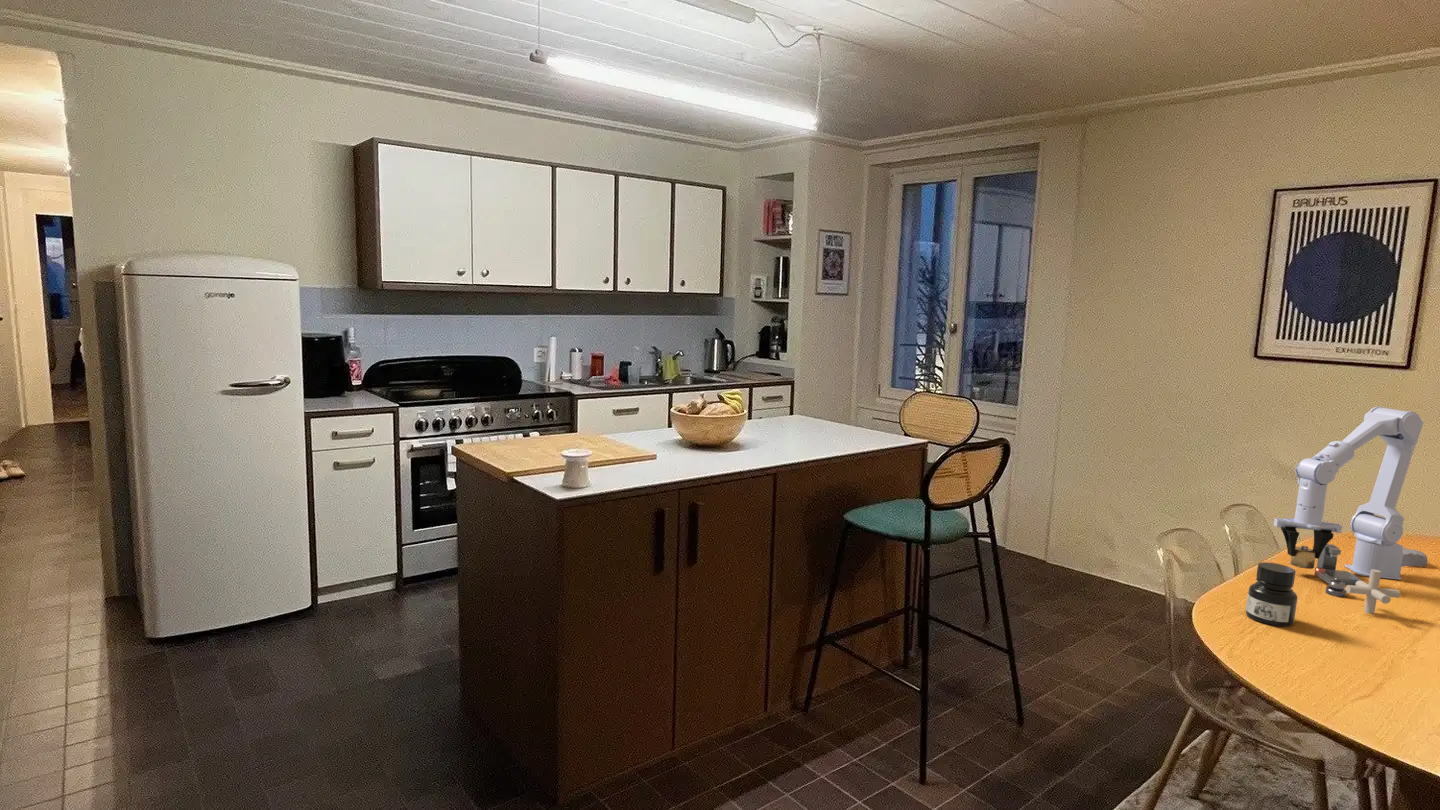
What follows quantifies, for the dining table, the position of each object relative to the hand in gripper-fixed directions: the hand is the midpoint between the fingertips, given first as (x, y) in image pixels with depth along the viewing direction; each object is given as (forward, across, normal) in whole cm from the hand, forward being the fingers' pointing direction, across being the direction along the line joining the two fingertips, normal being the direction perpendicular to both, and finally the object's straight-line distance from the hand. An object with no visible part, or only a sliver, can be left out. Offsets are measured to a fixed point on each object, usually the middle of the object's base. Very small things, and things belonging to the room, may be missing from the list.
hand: (1303, 556), depth 205 cm
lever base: (+5, +2, -13) cm, 14 cm away
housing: (+2, 0, 0) cm, 3 cm away
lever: (+4, +2, -9) cm, 10 cm away
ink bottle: (+5, -21, -37) cm, 43 cm away
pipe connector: (+5, +4, -24) cm, 25 cm away
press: (+5, +8, +2) cm, 10 cm away
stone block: (+6, +33, +25) cm, 42 cm away
